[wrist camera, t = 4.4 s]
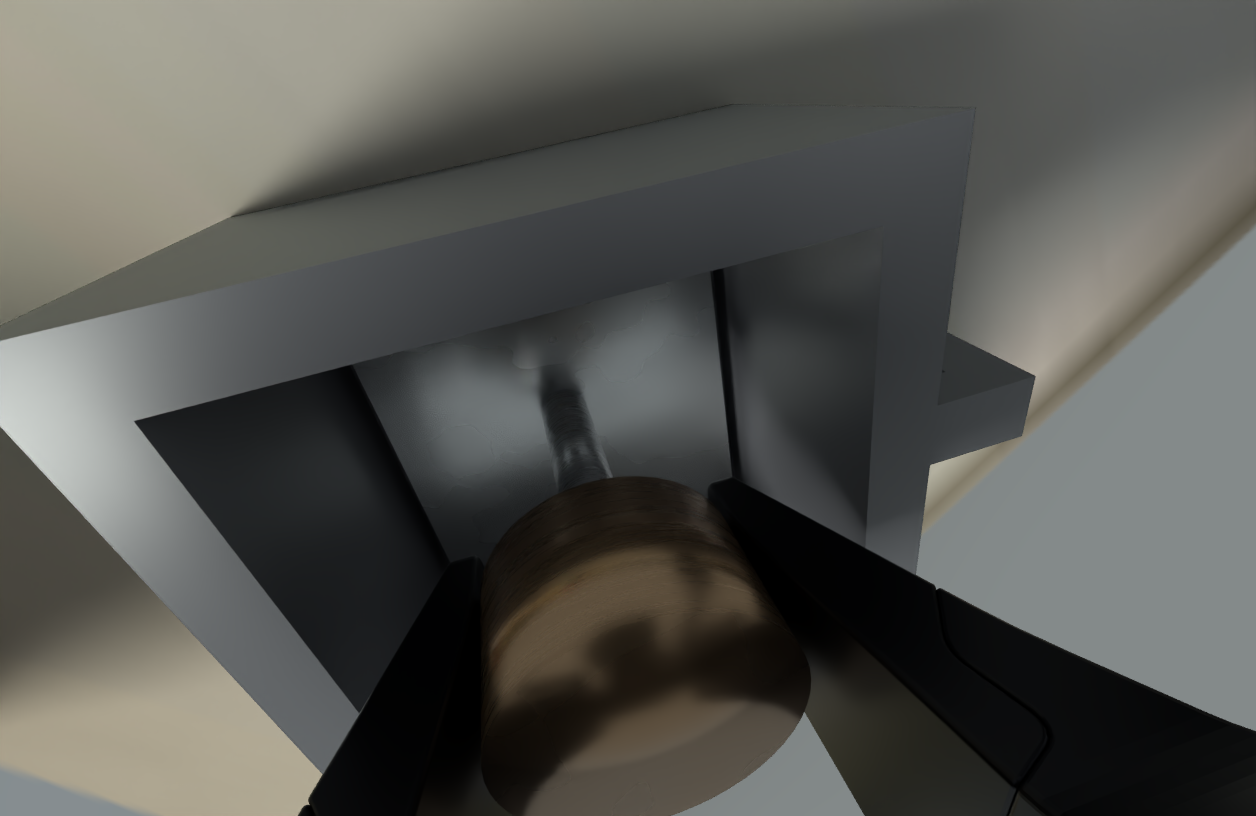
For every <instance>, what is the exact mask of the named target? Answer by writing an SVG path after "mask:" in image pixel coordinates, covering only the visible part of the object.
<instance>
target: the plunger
mask: <svg viewBox="0 0 1256 816" xmlns="http://www.w3.org/2000/svg"><path fill="white" fill-rule="evenodd" d="M352 365H353V367H354V369H355V371H356V373H357V375H358V377H359V379H360V381H361V383H362V385H363V387H364V389H365V391H366V393H367V395H368V397H369V399H370V401H371V403H372V405H373V407H374V409H375V411H376V413H377V415H378V417H379V419H380V421H381V423H382V425H383V427H384V429H385V432H386V434H387V436H388V438H389V440H390V442H391V444H392V446H393V448H394V450H395V452H396V454H397V456H398V458H399V460H400V462H401V464H402V466H403V468H404V470H405V472H406V474H407V476H408V478H409V480H410V482H411V484H412V486H413V488H414V490H415V492H416V494H417V496H418V498H419V500H420V502H421V504H422V506H423V508H424V510H425V512H426V514H427V516H428V518H429V520H430V522H431V524H432V526H433V529H434V531H435V533H436V535H437V537H438V539H439V541H440V543H441V545H442V547H443V549H444V551H445V553H446V555H447V557H448V559H449V561H450V563H451V562H453V561H455V560H459V559H462V558H465V557H469V556H472V555H475V556H478V557H479V558H480V559H481V561H482V563H483V565H484V567H485V568H484V571H483V575H482V580H481V585H480V666H481V771H482V776H483V780H484V783H485V785H486V787H487V789H488V791H489V794H490V795H491V796H492V797H493V798H494V800H495V801H496V802H497V803H498V804H499V805H500V806H501V807H502V808H504V809H505V810H506V811H507V812H509V813H510V814H512V815H514V816H671V815H674V814H677V813H680V812H682V811H684V810H687V809H689V808H692V807H694V806H697V805H699V804H701V803H703V802H705V801H707V800H709V799H711V798H713V797H715V796H717V795H719V794H720V793H722V792H724V791H726V790H727V789H729V788H731V787H732V786H734V785H735V784H737V783H738V782H740V781H742V780H743V779H745V778H746V777H747V776H748V775H750V774H751V773H753V772H754V771H755V770H756V769H758V768H759V767H760V766H761V765H762V764H763V763H765V762H766V761H767V760H768V759H769V758H770V757H771V756H772V755H773V754H774V753H775V752H776V751H777V750H778V749H779V748H780V747H781V746H782V745H783V744H784V743H785V741H786V740H787V739H788V737H789V736H790V735H791V733H792V732H793V731H794V729H795V728H796V726H797V724H798V723H799V721H800V719H801V718H802V715H803V713H804V711H805V709H806V706H807V703H808V699H809V696H810V691H811V672H810V666H809V664H808V661H807V658H806V655H805V654H804V652H803V650H802V649H801V647H800V645H799V644H798V642H797V640H796V639H795V637H794V635H793V633H792V632H791V630H790V628H789V627H788V625H787V623H786V622H785V620H784V618H783V617H782V615H781V613H780V611H779V610H778V608H777V606H776V605H775V603H774V601H773V600H772V598H771V596H770V595H769V593H768V591H767V589H766V588H765V586H764V584H763V583H762V581H761V579H760V578H759V576H758V574H757V573H756V571H755V569H754V568H753V566H752V564H751V562H750V561H749V559H748V557H747V556H746V554H745V552H744V551H743V549H742V547H741V546H740V544H739V542H738V540H737V539H736V537H735V535H734V534H733V532H732V530H731V529H730V527H729V525H728V524H727V522H726V520H725V519H724V517H723V516H722V514H721V512H720V511H719V510H718V509H717V508H716V507H715V505H714V504H713V503H712V502H711V501H710V500H708V499H707V498H708V492H707V488H708V485H709V484H710V483H712V482H715V481H718V480H722V479H725V478H728V477H732V470H731V461H730V452H729V442H728V433H727V423H726V414H725V405H724V395H723V386H722V376H721V367H720V358H719V348H718V339H717V329H716V320H715V311H714V301H713V292H712V283H711V273H710V271H709V272H705V273H702V274H698V275H694V276H690V277H686V278H682V279H679V280H675V281H671V282H667V283H663V284H659V285H655V286H652V287H648V288H644V289H640V290H636V291H632V292H629V293H625V294H621V295H617V296H613V297H609V298H605V299H602V300H598V301H594V302H590V303H586V304H582V305H579V306H575V307H571V308H567V309H563V310H559V311H555V312H552V313H548V314H544V315H540V316H536V317H532V318H528V319H525V320H521V321H517V322H513V323H509V324H505V325H502V326H498V327H494V328H490V329H486V330H482V331H478V332H475V333H471V334H467V335H463V336H459V337H455V338H452V339H448V340H444V341H440V342H436V343H432V344H428V345H425V346H421V347H417V348H413V349H409V350H405V351H402V352H398V353H394V354H390V355H386V356H382V357H378V358H375V359H371V360H367V361H363V362H359V363H355V364H352Z"/></svg>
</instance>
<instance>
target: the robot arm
mask: <svg viewBox="0 0 1256 816" xmlns="http://www.w3.org/2000/svg"><path fill="white" fill-rule="evenodd" d="M707 492H708V500H710V501H711V502H712V503H713V504H714V505H715V507H716V508H717V509H718V510H719V511H720V512H721V514H722V516H723V517H724V519H725V520H726V522H727V524H728V525H729V527H730V529H731V530H732V532H733V534H734V535H735V537H736V539H737V540H738V542H739V544H740V546H741V547H742V549H743V551H744V552H745V554H746V556H747V557H748V559H749V561H750V562H751V564H752V566H753V568H754V569H755V571H756V573H757V574H758V576H759V578H760V579H761V581H762V583H763V584H764V586H765V588H766V589H767V591H768V593H769V595H770V596H771V598H772V600H773V601H774V603H775V605H776V606H777V608H778V610H779V611H780V613H781V615H782V617H783V618H784V620H785V622H786V623H787V625H788V627H789V628H790V630H791V632H792V633H793V635H794V637H795V639H796V640H797V642H798V644H799V645H800V647H801V649H802V650H803V652H804V654H805V655H806V658H807V661H808V664H809V666H810V672H811V691H810V696H809V699H808V703H807V706H806V709H805V711H804V712H805V713H806V715H807V717H808V719H809V720H810V722H811V724H812V726H813V727H814V729H815V731H816V732H817V734H818V736H819V738H820V739H821V741H822V743H823V744H824V746H825V748H826V750H827V751H828V753H829V755H830V757H831V758H832V760H833V762H834V764H835V765H836V767H837V769H838V770H839V772H840V774H841V776H842V777H843V779H844V781H845V783H846V784H847V786H848V788H849V790H850V791H851V793H852V795H853V796H854V798H855V800H856V802H857V803H858V805H859V807H860V809H861V810H862V812H863V814H864V815H865V816H1256V731H1254V730H1251V729H1248V728H1245V727H1242V726H1240V725H1237V724H1234V723H1231V722H1229V721H1226V720H1224V719H1222V718H1219V717H1217V716H1214V715H1212V714H1209V713H1207V712H1205V711H1202V710H1200V709H1198V708H1195V707H1193V706H1191V705H1189V704H1186V703H1184V702H1182V701H1180V700H1177V699H1175V698H1173V697H1171V696H1168V695H1166V694H1164V693H1162V692H1159V691H1157V690H1155V689H1153V688H1150V687H1148V686H1146V685H1143V684H1141V683H1139V682H1137V681H1134V680H1132V679H1130V678H1128V677H1125V676H1123V675H1121V674H1118V673H1116V672H1114V671H1112V670H1109V669H1107V668H1105V667H1103V666H1100V665H1098V664H1096V663H1094V662H1091V661H1089V660H1087V659H1085V658H1082V657H1080V656H1078V655H1076V654H1073V653H1071V652H1069V651H1067V650H1064V649H1062V648H1060V647H1058V646H1055V645H1054V644H1051V643H1049V642H1047V641H1045V640H1043V639H1041V638H1039V637H1036V636H1034V635H1032V634H1030V633H1028V632H1026V631H1023V630H1021V629H1019V628H1017V627H1015V626H1013V625H1011V624H1009V623H1007V622H1005V621H1003V620H1001V619H999V618H997V617H995V616H993V615H991V614H989V613H987V612H985V611H983V610H981V609H979V608H977V607H975V606H974V605H972V604H970V603H968V602H966V601H964V600H962V599H960V598H958V597H956V596H955V595H953V594H951V593H949V592H947V591H945V590H943V589H941V588H939V589H937V590H936V587H935V585H934V584H932V583H930V582H928V581H926V580H924V579H922V578H921V577H919V576H917V575H915V574H913V573H911V572H909V571H908V570H906V569H904V568H902V567H900V566H898V565H896V564H895V563H893V562H891V561H889V560H887V559H885V558H883V557H881V556H880V555H878V554H876V553H874V552H872V551H870V550H868V549H867V548H865V547H863V546H861V545H859V544H857V543H855V542H853V541H852V540H850V539H848V538H846V537H844V536H842V535H840V534H839V533H837V532H835V531H833V530H831V529H829V528H827V527H826V526H824V525H822V524H820V523H818V522H816V521H814V520H812V519H811V518H809V517H807V516H805V515H803V514H801V513H799V512H798V511H796V510H794V509H792V508H790V507H788V506H786V505H784V504H783V503H781V502H779V501H777V500H775V499H773V498H771V497H770V496H768V495H766V494H764V493H762V492H760V491H758V490H757V489H755V488H753V487H751V486H749V485H747V484H745V483H743V482H742V481H740V480H738V479H736V478H733V477H728V478H725V479H722V480H718V481H715V482H712V483H710V484H709V485H708V488H707ZM483 571H484V565H483V563H482V561H481V559H480V558H479V557H478V556H475V555H472V556H469V557H465V558H462V559H459V560H455V561H453V562H451V563H450V564H449V565H448V566H447V568H446V569H445V571H444V573H443V574H442V576H441V578H440V579H439V581H438V583H437V584H436V586H435V588H434V589H433V591H432V593H431V594H430V596H429V598H428V599H427V601H426V603H425V604H424V606H423V608H422V609H421V611H420V613H419V614H418V616H417V618H416V619H415V621H414V623H413V624H412V626H411V628H410V629H409V631H408V633H407V634H406V636H405V638H404V639H403V641H402V643H401V644H400V646H399V648H398V649H397V651H396V653H395V654H394V656H393V658H392V659H391V661H390V663H389V664H388V666H387V668H386V670H385V671H384V673H383V675H382V676H381V678H380V680H379V681H378V683H377V685H376V686H375V688H374V690H373V691H372V693H371V695H370V696H369V698H368V700H367V701H366V703H365V705H364V706H363V708H362V710H361V711H360V713H359V715H358V716H357V718H356V720H355V721H354V723H353V725H352V726H351V728H350V730H349V731H348V733H347V735H346V736H345V738H344V740H343V741H342V743H341V745H340V746H339V748H338V750H337V751H336V753H335V755H334V756H333V758H332V760H331V761H330V763H329V765H328V766H327V768H326V770H325V771H324V773H323V775H322V776H321V778H320V780H319V781H318V783H317V785H316V787H315V788H314V790H313V792H312V793H311V795H310V797H309V799H308V802H309V804H310V805H305V806H304V807H303V808H302V809H301V811H300V813H299V814H298V816H514V815H512V814H510V813H509V812H507V811H506V810H505V809H504V808H502V807H501V806H500V805H499V804H498V803H497V802H496V801H495V800H494V798H493V797H492V796H491V795H490V794H489V791H488V789H487V787H486V785H485V783H484V780H483V776H482V771H481V666H480V585H481V580H482V575H483Z"/></svg>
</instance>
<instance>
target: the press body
mask: <svg viewBox="0 0 1256 816" xmlns="http://www.w3.org/2000/svg"><path fill="white" fill-rule="evenodd" d="M975 109H976V108H956V107H889V106H822V105H754V104H732V105H727V106H723V107H718V108H714V109H709V110H705V111H701V112H696V113H692V114H687V115H683V116H678V117H674V118H670V119H665V120H661V121H656V122H652V123H647V124H643V125H639V126H634V127H630V128H625V129H621V130H617V131H612V132H608V133H603V134H599V135H594V136H590V137H586V138H581V139H577V140H572V141H568V142H563V143H559V144H555V145H550V146H546V147H541V148H537V149H532V150H528V151H524V152H519V153H515V154H510V155H506V156H501V157H497V158H493V159H488V160H484V161H479V162H475V163H470V164H466V165H462V166H457V167H453V168H448V169H444V170H439V171H435V172H431V173H426V174H422V175H417V176H413V177H409V178H404V179H400V180H395V181H391V182H386V183H382V184H378V185H373V186H369V187H364V188H360V189H355V190H351V191H347V192H342V193H338V194H333V195H329V196H324V197H320V198H316V199H311V200H307V201H302V202H298V203H293V204H289V205H285V206H280V207H276V208H271V209H267V210H262V211H258V212H254V213H249V214H245V215H240V216H236V217H231V218H227V219H225V220H223V221H221V222H219V223H217V224H215V225H212V226H210V227H208V228H206V229H204V230H202V231H200V232H198V233H196V234H193V235H191V236H189V237H187V238H185V239H183V240H181V241H179V242H176V243H174V244H172V245H170V246H168V247H166V248H164V249H162V250H160V251H157V252H155V253H153V254H151V255H149V256H147V257H145V258H143V259H140V260H138V261H136V262H134V263H132V264H130V265H128V266H126V267H124V268H121V269H119V270H117V271H115V272H113V273H111V274H109V275H107V276H104V277H102V278H100V279H98V280H96V281H94V282H92V283H90V284H88V285H85V286H83V287H81V288H79V289H77V290H75V291H73V292H71V293H68V294H66V295H64V296H62V297H60V298H58V299H56V300H54V301H52V302H49V303H47V304H45V305H43V306H41V307H39V308H37V309H35V310H32V311H30V312H28V313H26V314H24V315H22V316H20V317H18V318H16V319H13V320H11V321H9V322H7V323H5V324H3V325H1V326H0V427H1V428H2V429H3V430H4V431H5V432H6V433H7V434H8V435H9V436H10V438H11V439H12V440H13V441H14V442H15V443H16V444H17V445H18V446H19V447H20V448H21V449H22V450H23V452H24V453H25V454H26V455H27V456H28V457H29V458H30V459H31V460H32V461H33V462H34V463H35V464H36V466H37V467H38V468H39V469H40V470H41V471H42V472H43V473H44V474H45V475H46V476H47V477H48V479H49V480H50V481H51V482H52V483H53V484H54V485H55V486H56V487H57V488H58V489H59V490H60V491H61V493H62V494H63V495H64V496H65V497H66V498H67V499H68V500H69V501H70V502H71V503H72V504H73V505H74V507H75V508H76V509H77V510H78V511H79V512H80V513H81V514H82V515H83V516H84V517H85V518H86V519H87V521H88V522H89V523H90V524H91V525H92V526H93V527H94V528H95V529H96V530H97V531H98V532H99V534H100V535H101V536H102V537H103V538H104V539H105V540H106V541H107V542H108V543H109V544H110V545H111V546H112V548H113V549H114V550H115V551H116V552H117V553H118V554H119V555H120V556H121V557H122V558H123V559H124V560H125V562H126V563H127V564H128V565H129V566H130V567H131V568H132V569H133V570H134V571H135V572H136V573H137V575H138V576H139V577H140V578H141V579H142V580H143V581H144V582H145V583H146V584H147V585H148V586H149V587H150V589H151V590H152V591H153V592H154V593H155V594H156V595H157V596H158V597H159V598H160V599H161V600H162V601H163V603H164V604H165V605H166V606H167V607H168V608H169V609H170V610H171V611H172V612H173V613H174V614H175V616H176V617H177V618H178V619H179V620H180V621H181V622H182V623H183V624H184V625H185V626H186V627H187V628H188V630H189V631H190V632H191V633H192V634H193V635H194V636H195V637H196V638H197V639H198V640H199V641H200V642H201V644H202V645H203V646H204V647H205V648H206V649H207V650H208V651H209V652H210V653H211V654H212V655H213V657H214V658H215V659H216V660H217V661H218V662H219V663H220V664H221V665H222V666H223V667H224V668H225V669H226V671H227V672H228V673H229V674H230V675H231V676H232V677H233V678H234V679H235V680H236V681H237V682H238V683H239V685H240V686H241V687H242V688H243V689H244V690H245V691H246V692H247V693H248V694H249V695H250V696H251V698H252V699H253V700H254V701H255V702H256V703H257V704H258V705H259V706H260V707H261V708H262V709H263V710H264V712H265V713H266V714H267V715H268V716H269V717H270V718H271V719H272V720H273V721H274V722H275V723H276V724H277V726H278V727H279V728H280V729H281V730H282V731H283V732H284V733H285V734H286V735H287V736H288V737H289V739H290V740H291V741H292V742H293V743H294V744H295V745H296V746H297V747H298V748H299V749H300V750H301V751H302V753H303V754H304V755H305V756H306V757H307V758H308V759H309V760H310V761H311V762H312V763H313V764H314V765H315V767H316V768H317V769H318V770H319V771H320V772H321V773H322V774H323V773H324V771H325V770H326V768H327V766H328V765H329V763H330V761H331V760H332V758H333V756H334V755H335V753H336V751H337V750H338V748H339V746H340V745H341V743H342V741H343V740H344V738H345V736H346V735H347V733H348V731H349V730H350V728H351V726H352V725H353V723H354V721H355V720H356V718H357V716H358V715H359V713H360V711H361V710H362V708H363V706H364V705H365V703H366V701H367V700H368V698H369V696H370V695H371V693H372V691H373V690H374V688H375V686H376V685H377V683H378V681H379V680H380V678H381V676H382V675H383V673H384V671H385V670H386V668H387V666H388V664H389V663H390V661H391V659H392V658H393V656H394V654H395V653H396V651H397V649H398V648H399V646H400V644H401V643H402V641H403V639H404V638H405V636H406V634H407V633H408V631H409V629H410V628H411V626H412V624H413V623H414V621H415V619H416V618H417V616H418V614H419V613H420V611H421V609H422V608H423V606H424V604H425V603H426V601H427V599H428V598H429V596H430V594H431V593H432V591H433V589H434V588H435V586H436V584H437V583H438V581H439V579H440V578H441V576H442V574H443V573H444V571H445V569H446V568H447V566H448V565H449V564H450V561H449V559H448V557H447V555H446V553H445V551H444V549H443V547H442V545H441V543H440V541H439V539H438V537H437V535H436V533H435V531H434V529H433V526H432V524H431V522H430V520H429V518H428V516H427V514H426V512H425V510H424V508H423V506H422V504H421V502H420V500H419V498H418V496H417V494H416V492H415V490H414V488H413V486H412V484H411V482H410V480H409V478H408V476H407V474H406V472H405V470H404V468H403V466H402V464H401V462H400V460H399V458H398V456H397V454H396V452H395V450H394V448H393V446H392V444H391V442H390V440H389V438H388V436H387V434H386V432H385V429H384V427H383V425H382V423H381V421H380V419H379V417H378V415H377V413H376V411H375V409H374V407H373V405H372V403H371V401H370V399H369V397H368V395H367V393H366V391H365V389H364V387H363V385H362V383H361V381H360V379H359V377H358V375H357V373H356V371H355V369H354V367H353V365H352V364H355V363H359V362H363V361H367V360H371V359H375V358H378V357H382V356H386V355H390V354H394V353H398V352H402V351H405V350H409V349H413V348H417V347H421V346H425V345H428V344H432V343H436V342H440V341H444V340H448V339H452V338H455V337H459V336H463V335H467V334H471V333H475V332H478V331H482V330H486V329H490V328H494V327H498V326H502V325H505V324H509V323H513V322H517V321H521V320H525V319H528V318H532V317H536V316H540V315H544V314H548V313H552V312H555V311H559V310H563V309H567V308H571V307H575V306H579V305H582V304H586V303H590V302H594V301H598V300H602V299H605V298H609V297H613V296H617V295H621V294H625V293H629V292H632V291H636V290H640V289H644V288H648V287H652V286H655V285H659V284H663V283H667V282H671V281H675V280H679V279H682V278H686V277H690V276H694V275H698V274H702V273H705V272H709V271H710V273H711V283H712V292H713V301H714V311H715V320H716V329H717V339H718V348H719V358H720V367H721V376H722V386H723V395H724V405H725V414H726V423H727V433H728V442H729V452H730V461H731V470H732V477H733V478H736V479H738V480H740V481H742V482H743V483H745V484H747V485H749V486H751V487H753V488H755V489H757V490H758V491H760V492H762V493H764V494H766V495H768V496H770V497H771V498H773V499H775V500H777V501H779V502H781V503H783V504H784V505H786V506H788V507H790V508H792V509H794V510H796V511H798V512H799V513H801V514H803V515H805V516H807V517H809V518H811V519H812V520H814V521H816V522H818V523H820V524H822V525H824V526H826V527H827V528H829V529H831V530H833V531H835V532H837V533H839V534H840V535H842V536H844V537H846V538H848V539H850V540H852V541H853V542H855V543H857V544H859V545H861V546H863V547H865V548H867V549H868V550H870V551H872V552H874V553H876V554H878V555H880V556H881V557H883V558H885V559H887V560H889V561H891V562H893V563H895V564H896V565H898V566H900V567H902V568H904V569H906V570H908V571H909V572H911V573H913V574H915V575H916V568H917V561H918V553H919V546H920V538H921V530H922V522H923V515H924V507H925V499H926V491H927V483H928V476H929V468H930V465H931V464H935V463H938V462H941V461H944V460H947V459H950V458H954V457H957V456H960V455H963V454H966V453H969V452H973V451H976V450H979V449H982V448H985V447H989V446H992V445H995V444H998V443H1001V442H1004V441H1008V440H1011V439H1014V438H1017V437H1020V436H1022V433H1023V429H1024V425H1025V420H1026V416H1027V412H1028V407H1029V403H1030V398H1031V394H1032V390H1033V385H1034V381H1035V377H1036V376H1034V375H1032V374H1030V373H1028V372H1026V371H1024V370H1022V369H1020V368H1018V367H1016V366H1014V365H1012V364H1010V363H1008V362H1006V361H1004V360H1002V359H1000V358H998V357H996V356H994V355H992V354H990V353H988V352H986V351H984V350H982V349H980V348H978V347H976V346H973V345H971V344H969V343H967V342H965V341H963V340H961V339H959V338H957V337H955V336H953V335H951V334H949V333H947V328H948V320H949V312H950V304H951V296H952V289H953V281H954V273H955V265H956V257H957V250H958V242H959V234H960V226H961V219H962V211H963V203H964V195H965V187H966V180H967V172H968V164H969V156H970V148H971V141H972V133H973V125H974V117H975ZM707 499H708V498H707ZM484 568H485V567H484Z"/></svg>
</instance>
